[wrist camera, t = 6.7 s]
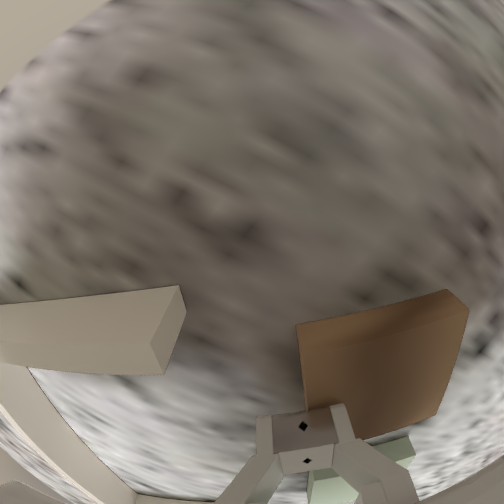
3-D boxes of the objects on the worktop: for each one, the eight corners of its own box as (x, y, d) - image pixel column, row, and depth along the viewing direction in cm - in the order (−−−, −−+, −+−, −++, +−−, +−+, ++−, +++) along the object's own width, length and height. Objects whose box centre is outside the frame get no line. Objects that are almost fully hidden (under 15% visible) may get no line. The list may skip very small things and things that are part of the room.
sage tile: (405, 430, 13) (416, 454, 11) (384, 471, 15) (390, 490, 13) (309, 452, 13) (314, 480, 11) (306, 487, 15) (308, 509, 13)
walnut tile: (441, 284, 9) (469, 309, 7) (420, 387, 11) (435, 414, 9) (294, 318, 10) (302, 355, 8) (306, 418, 12) (311, 451, 10)
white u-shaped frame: (179, 285, 9) (149, 343, 6) (264, 505, 15) (264, 535, 13) (-15, 305, 9) (-48, 335, 7) (133, 496, 16) (126, 521, 13)
